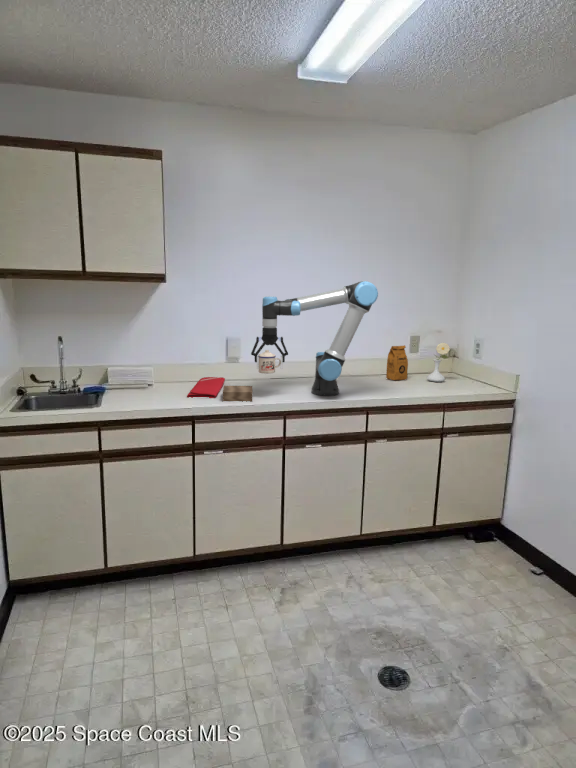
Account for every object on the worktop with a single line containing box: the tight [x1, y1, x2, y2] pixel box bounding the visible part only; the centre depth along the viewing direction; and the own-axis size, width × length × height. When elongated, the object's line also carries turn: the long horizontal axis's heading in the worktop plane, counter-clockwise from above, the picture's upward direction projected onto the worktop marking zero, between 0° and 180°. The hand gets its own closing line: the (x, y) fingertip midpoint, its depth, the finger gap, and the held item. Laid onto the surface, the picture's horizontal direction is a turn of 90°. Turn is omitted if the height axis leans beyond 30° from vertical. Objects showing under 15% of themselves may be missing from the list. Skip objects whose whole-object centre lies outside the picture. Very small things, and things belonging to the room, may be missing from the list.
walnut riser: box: [222, 385, 254, 403], centre depth 266 cm, size 15×15×5 cm
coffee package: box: [385, 345, 409, 381], centre depth 325 cm, size 10×12×22 cm
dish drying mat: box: [186, 376, 226, 399], centre depth 285 cm, size 16×41×4 cm, turn 0°
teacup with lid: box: [257, 349, 281, 375], centre depth 266 cm, size 12×9×12 cm
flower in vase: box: [426, 342, 451, 383], centre depth 323 cm, size 13×11×25 cm
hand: (269, 368), depth 267 cm, fingers closed on teacup with lid, 12 cm apart
